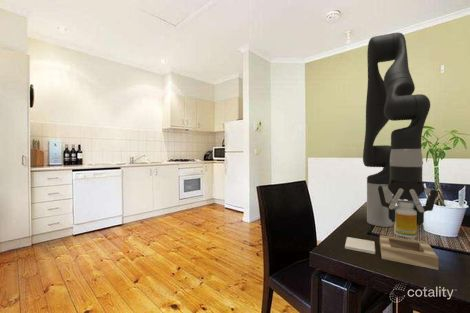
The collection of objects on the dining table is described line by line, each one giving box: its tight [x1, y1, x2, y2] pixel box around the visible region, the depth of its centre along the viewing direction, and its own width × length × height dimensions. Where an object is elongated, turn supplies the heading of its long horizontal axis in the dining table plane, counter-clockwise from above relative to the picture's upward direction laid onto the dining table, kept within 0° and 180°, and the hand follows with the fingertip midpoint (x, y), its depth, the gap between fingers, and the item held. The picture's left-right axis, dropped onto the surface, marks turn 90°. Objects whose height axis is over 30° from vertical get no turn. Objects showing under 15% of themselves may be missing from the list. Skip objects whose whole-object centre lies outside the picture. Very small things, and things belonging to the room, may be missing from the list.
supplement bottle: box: [393, 200, 418, 239], centre depth 65 cm, size 5×5×10 cm
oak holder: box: [379, 234, 439, 271], centre depth 65 cm, size 12×12×3 cm
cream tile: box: [344, 236, 376, 255], centre depth 71 cm, size 9×8×1 cm
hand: (405, 222), depth 65 cm, fingers closed on supplement bottle, 5 cm apart
